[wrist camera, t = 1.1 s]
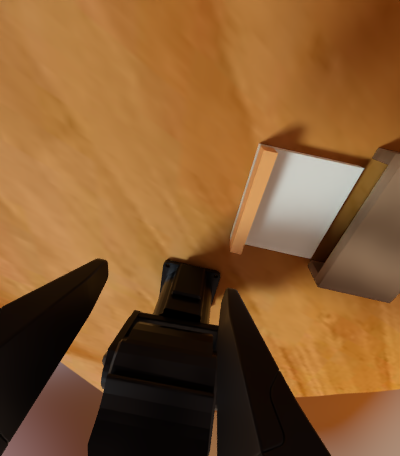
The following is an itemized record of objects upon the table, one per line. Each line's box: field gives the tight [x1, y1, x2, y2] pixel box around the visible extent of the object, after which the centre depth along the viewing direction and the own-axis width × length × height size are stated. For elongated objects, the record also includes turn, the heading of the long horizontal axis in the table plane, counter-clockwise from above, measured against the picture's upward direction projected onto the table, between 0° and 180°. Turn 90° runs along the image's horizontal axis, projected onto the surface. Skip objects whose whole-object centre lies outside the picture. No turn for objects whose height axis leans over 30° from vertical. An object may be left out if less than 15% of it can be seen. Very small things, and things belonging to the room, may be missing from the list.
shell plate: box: [230, 143, 364, 259], centre depth 18 cm, size 9×8×3 cm
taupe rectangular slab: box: [308, 148, 400, 303], centre depth 18 cm, size 12×7×3 cm, turn 169°
